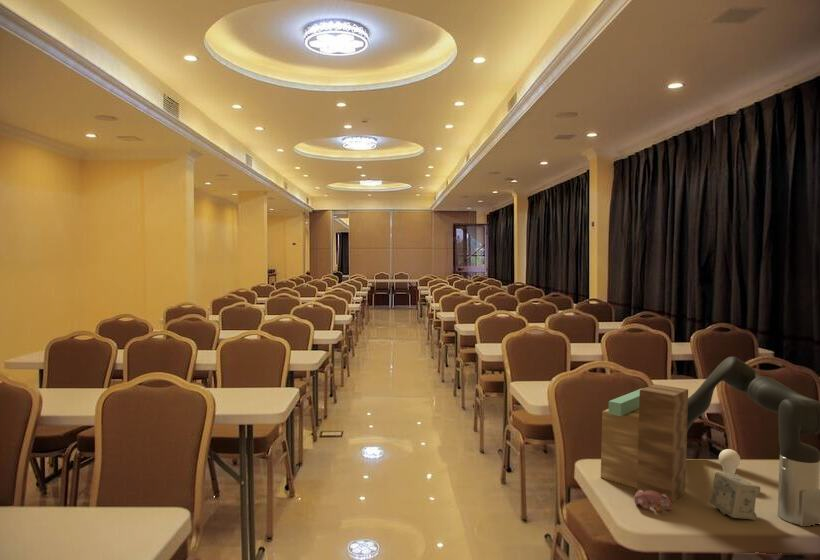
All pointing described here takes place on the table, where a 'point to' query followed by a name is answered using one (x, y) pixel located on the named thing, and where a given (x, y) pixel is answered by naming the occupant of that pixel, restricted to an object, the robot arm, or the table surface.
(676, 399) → the walnut stand
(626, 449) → the oak block
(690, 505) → the table surface
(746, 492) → the grey speckled block
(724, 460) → the lightbulb
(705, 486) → the table surface
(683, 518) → the table surface
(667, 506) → the pink animal figurine
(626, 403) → the bar
